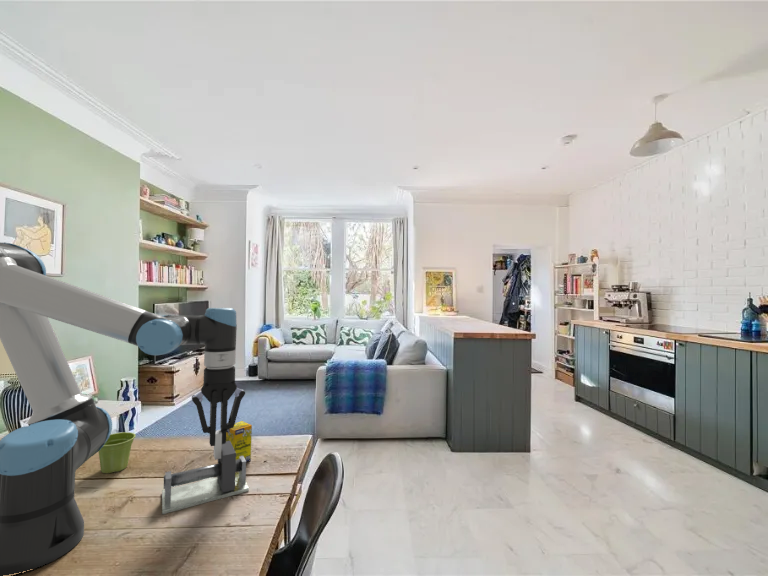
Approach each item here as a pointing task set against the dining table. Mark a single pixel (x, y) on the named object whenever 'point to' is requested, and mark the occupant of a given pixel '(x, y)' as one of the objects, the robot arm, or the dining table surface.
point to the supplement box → (240, 439)
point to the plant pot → (116, 452)
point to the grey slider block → (227, 467)
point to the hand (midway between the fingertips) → (217, 456)
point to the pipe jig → (199, 486)
